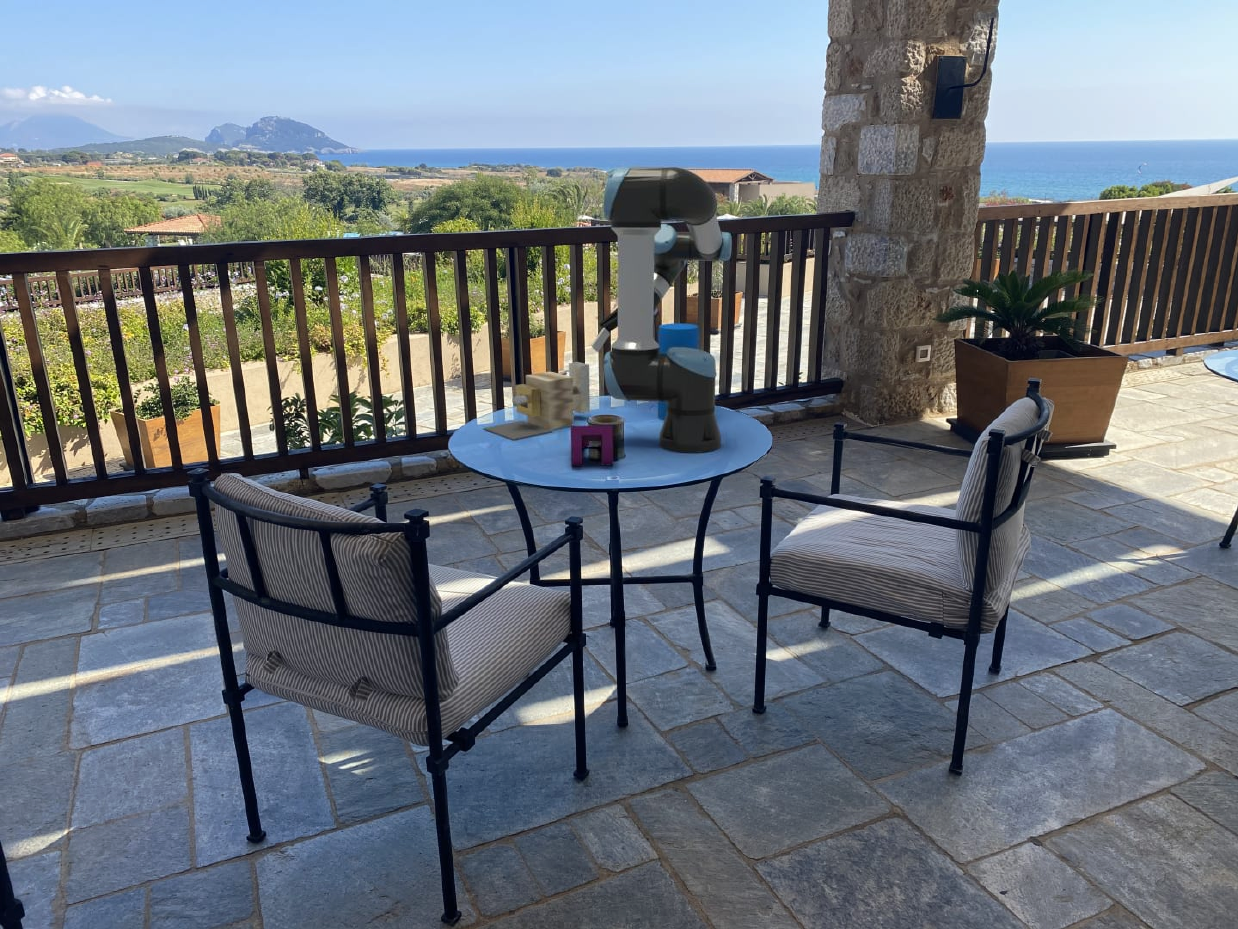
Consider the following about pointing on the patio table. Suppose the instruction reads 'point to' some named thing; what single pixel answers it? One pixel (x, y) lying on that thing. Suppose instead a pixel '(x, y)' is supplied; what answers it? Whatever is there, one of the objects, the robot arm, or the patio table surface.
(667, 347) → the tall blue cylinder
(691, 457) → the patio table surface
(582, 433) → the mounting bracket
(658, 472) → the patio table surface
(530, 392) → the brass spacer
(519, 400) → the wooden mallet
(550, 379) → the wooden block
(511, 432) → the rubber mat
